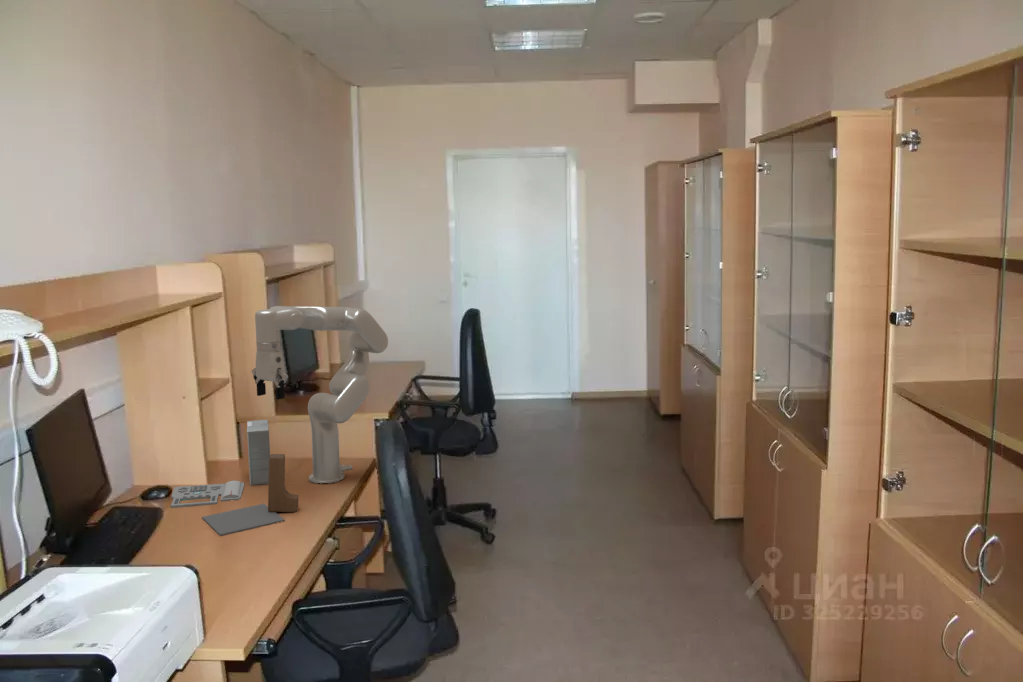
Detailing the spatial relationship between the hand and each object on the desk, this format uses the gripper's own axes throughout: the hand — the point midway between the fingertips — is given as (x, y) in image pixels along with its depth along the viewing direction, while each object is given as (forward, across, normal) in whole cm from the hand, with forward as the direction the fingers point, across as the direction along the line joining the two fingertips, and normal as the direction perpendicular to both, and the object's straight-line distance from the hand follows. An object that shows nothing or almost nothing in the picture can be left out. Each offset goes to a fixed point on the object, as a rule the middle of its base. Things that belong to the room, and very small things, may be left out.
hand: (270, 396), depth 274 cm
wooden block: (+34, -15, +9) cm, 38 cm away
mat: (+34, -11, +21) cm, 42 cm away
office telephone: (+35, +18, +14) cm, 42 cm away
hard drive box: (+34, +18, -8) cm, 40 cm away
